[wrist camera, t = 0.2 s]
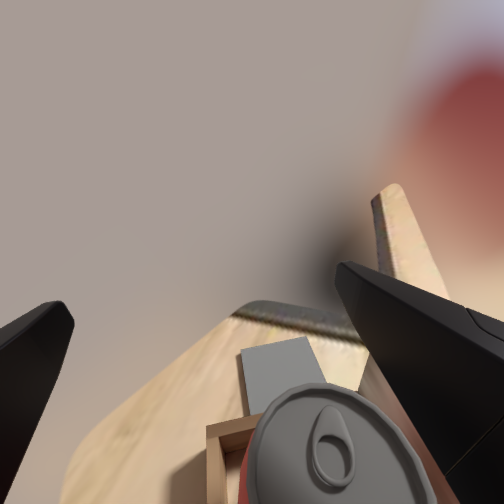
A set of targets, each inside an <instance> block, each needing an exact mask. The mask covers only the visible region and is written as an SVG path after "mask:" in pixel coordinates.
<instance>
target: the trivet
mask: <svg viewBox="0 0 504 504" xmlns="http://www.w3.org/2000/svg"><path fill="white" fill-rule="evenodd" d="M241 356H242V363H243V370H244V376H245V383H246V389H247V396H248V403H249V409H250V416H251V415H255V414H259V413H263V412H265V410H266V409H267V407H268V406H269V404H270V403H271V402H272V401H273V400H274V399H276V398H277V397H278V396H280V395H281V394H282V393H284V392H285V391H286V390H288V389H290V388H293V387H296V386H300V385H303V384H306V383H327V382H326V380H325V378H324V375H323V373H322V371H321V368H320V366H319V364H318V362H317V359H316V357H315V355H314V353H313V350H312V348H311V346H310V343H309V341H308V339H307V337H306V336H305V337H300V338H295V339H290V340H285V341H280V342H276V343H271V344H266V345H261V346H256V347H251V348H246V349H241Z"/></svg>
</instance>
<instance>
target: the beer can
mask: <svg viewBox="0 0 504 504" xmlns="http://www.w3.org/2000/svg"><path fill="white" fill-rule="evenodd" d="M238 504H437V499H436V496H435V493H434V491H433V488H432V486H431V484H430V481H429V479H428V476H427V474H426V471H425V469H424V467H423V464H422V462H421V459H420V458H419V456H418V455H417V453H416V452H415V450H414V449H413V447H412V446H411V444H410V443H409V441H408V440H407V438H406V437H405V435H404V434H403V432H402V431H401V429H400V428H399V427H398V426H397V425H396V424H395V423H394V422H393V421H392V420H391V419H390V418H389V417H388V416H387V415H386V414H385V413H384V412H383V411H382V410H381V409H380V408H379V407H378V406H377V405H375V404H374V403H372V402H370V401H369V400H367V399H366V398H364V397H362V396H361V395H359V394H358V393H356V392H354V391H353V390H350V389H346V388H343V387H340V386H337V385H334V384H331V383H306V384H303V385H300V386H296V387H293V388H290V389H288V390H286V391H285V392H284V393H282V394H281V395H280V396H278V397H277V398H276V399H274V400H273V401H272V402H271V403H270V404H269V406H268V407H267V409H266V410H265V412H264V413H263V415H262V416H261V417H260V419H259V420H258V422H257V424H256V427H255V430H254V431H253V433H252V435H251V438H250V441H249V444H248V447H247V450H246V453H245V456H244V459H243V462H242V465H241V470H240V482H239V495H238Z"/></svg>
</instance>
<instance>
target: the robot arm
mask: <svg viewBox="0 0 504 504" xmlns="http://www.w3.org/2000/svg"><path fill="white" fill-rule="evenodd" d="M334 281H335V287H336V290H337V292H338V294H339V296H340V298H341V300H342V303H343V305H344V307H345V309H346V311H347V313H348V316H349V318H350V320H351V322H352V324H353V326H354V327H355V329H356V331H357V332H358V334H359V336H360V337H361V339H362V341H363V342H364V344H365V346H366V347H367V349H368V351H369V352H370V354H371V356H372V357H373V359H374V361H375V362H376V364H377V366H378V367H379V369H380V371H381V372H382V374H383V376H384V377H385V379H386V381H387V382H388V384H389V386H390V387H391V389H392V391H393V392H394V394H395V396H396V397H397V399H398V401H399V402H400V404H401V406H402V407H403V409H404V411H405V412H406V414H407V416H408V417H409V419H410V421H411V422H412V424H413V426H414V427H415V429H416V431H417V432H418V434H419V436H420V437H421V439H422V441H423V442H424V444H425V446H426V447H427V449H428V451H429V452H430V454H431V456H432V457H433V459H434V461H435V462H436V464H437V466H438V467H439V469H440V471H441V472H442V474H443V475H444V476H445V480H446V481H447V483H448V485H449V486H450V488H451V490H452V491H453V493H454V495H455V496H456V498H457V500H458V501H459V503H460V504H504V322H502V321H500V320H497V319H494V318H492V317H489V316H487V315H484V314H482V313H479V312H477V311H474V310H472V309H469V308H465V307H464V306H462V305H459V304H457V303H454V302H452V301H449V300H447V299H444V298H442V297H439V296H437V295H434V294H432V293H429V292H427V291H425V290H422V289H420V288H417V287H415V286H412V285H410V284H407V283H405V282H402V281H400V280H397V279H395V278H392V277H390V276H387V275H385V274H382V273H380V272H377V271H375V270H372V269H370V268H367V267H365V266H363V265H360V264H357V263H355V262H353V261H342V262H339V263H338V264H337V268H336V274H335V280H334ZM73 329H74V319H73V317H72V315H71V314H70V312H69V310H68V309H67V307H66V305H65V304H64V303H63V302H62V301H51V302H46V303H43V304H41V305H40V306H38V307H36V308H34V309H33V310H31V311H29V312H28V313H26V314H24V315H22V316H21V317H19V318H17V319H16V320H14V321H12V322H11V323H9V324H7V325H6V326H4V327H2V328H0V504H4V502H5V499H6V497H7V495H8V492H9V490H10V488H11V486H12V483H13V481H14V479H15V476H16V474H17V472H18V469H19V467H20V465H21V462H22V460H23V458H24V455H25V453H26V451H27V448H28V446H29V444H30V441H31V439H32V437H33V434H34V432H35V430H36V428H37V425H38V423H39V420H40V418H41V416H42V414H43V411H44V409H45V407H46V404H47V402H48V399H49V397H50V395H51V393H52V390H53V388H54V386H55V383H56V381H57V379H58V376H59V373H60V370H61V368H62V365H63V361H64V358H65V355H66V352H67V349H68V345H69V342H70V339H71V336H72V333H73Z"/></svg>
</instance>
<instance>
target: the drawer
mask: <svg viewBox="0 0 504 504" xmlns="http://www.w3.org/2000/svg"><path fill="white" fill-rule="evenodd" d="M354 392H356V393H358V394H359V395H361V396H362V397H364V398H366V399H367V400H369V401H370V402H372V403H374V404H375V405H377V406H378V407H379V408H380V409H381V410H382V411H383V412H384V413H385V414H386V415H387V416H388V417H389V418H390V419H391V420H392V421H393V422H394V423H395V424H396V425H397V426H398V427H399V428H400V429H401V431H402V432H403V434H404V435H405V437H406V438H407V440H408V441H409V443H410V444H411V446H412V447H413V449H414V450H415V452H416V453H417V455H418V456H419V458H420V459H421V462H422V464H423V467H424V469H425V471H426V474H427V476H428V479H429V481H430V484H431V486H432V488H433V491H434V493H435V496H436V499H437V504H460V503H459V501H458V500H457V498H456V496H455V495H454V493H453V491H452V490H451V488H450V486H449V485H448V483H447V481H446V480H445V476H444V475H443V474H442V472H441V471H440V469H439V467H438V466H437V464H436V462H435V461H434V459H433V457H432V456H431V454H430V452H429V451H428V449H427V447H426V446H425V444H424V442H423V441H422V439H421V437H420V436H419V434H418V432H417V431H416V429H415V427H414V426H413V424H412V422H411V421H410V419H409V417H408V416H407V414H406V412H405V411H404V409H403V407H402V406H401V404H400V402H399V401H398V399H397V397H396V396H395V394H394V392H393V391H392V389H391V387H390V386H389V384H388V382H387V381H386V379H385V377H384V376H383V374H382V372H381V371H380V369H379V367H378V366H377V364H376V362H375V361H374V359H373V357H372V356H371V354H370V353H369V357H368V360H367V363H366V366H365V369H364V372H363V376H362V379H361V382H360V385H359V388H358V392H357V391H354ZM263 413H264V412H263ZM263 413H259V414H255V415H251V416H246V417H242V418H238V419H234V420H229V421H225V422H221V423H217V424H212V425H208V426H206V453H207V504H228V499H227V483H226V466H225V453H228V452H232V451H236V450H240V449H244V448H247V447H248V444H249V441H250V438H251V435H252V433H253V431H254V430H255V427H256V424H257V422H258V420H259V419H260V417H261V416H262V415H263Z"/></svg>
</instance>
